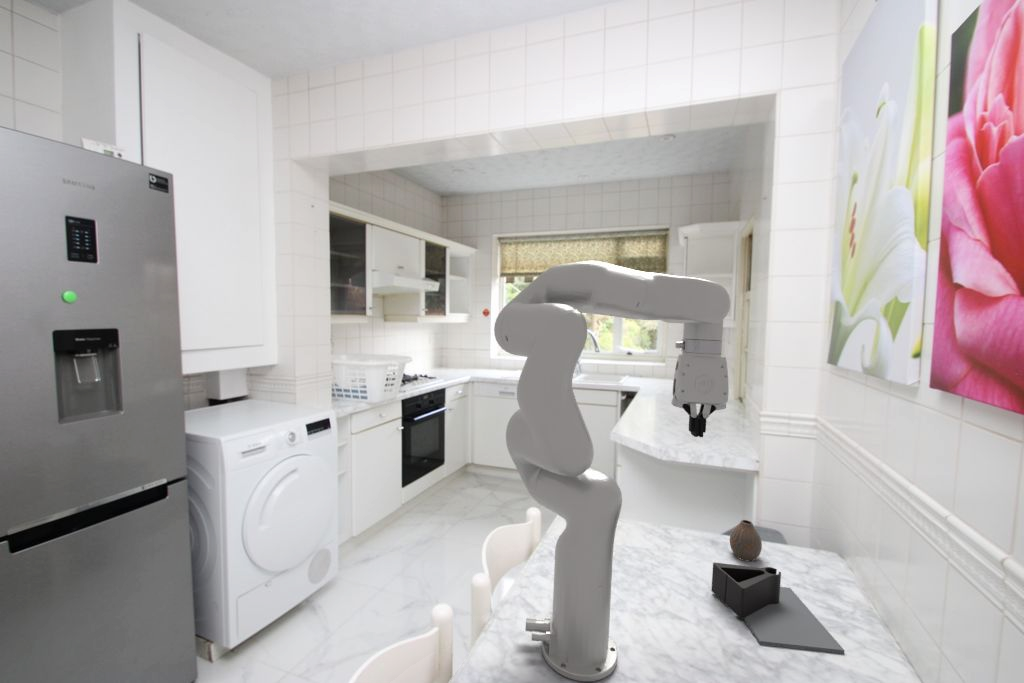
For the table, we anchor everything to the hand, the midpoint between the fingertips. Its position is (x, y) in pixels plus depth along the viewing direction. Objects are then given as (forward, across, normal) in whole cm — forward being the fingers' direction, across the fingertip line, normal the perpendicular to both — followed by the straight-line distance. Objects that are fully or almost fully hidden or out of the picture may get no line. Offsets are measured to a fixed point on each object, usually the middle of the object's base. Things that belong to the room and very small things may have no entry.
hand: (696, 435), depth 91 cm
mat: (+33, +15, -6) cm, 37 cm away
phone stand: (+30, +6, -5) cm, 30 cm away
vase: (+33, +18, +16) cm, 41 cm away
